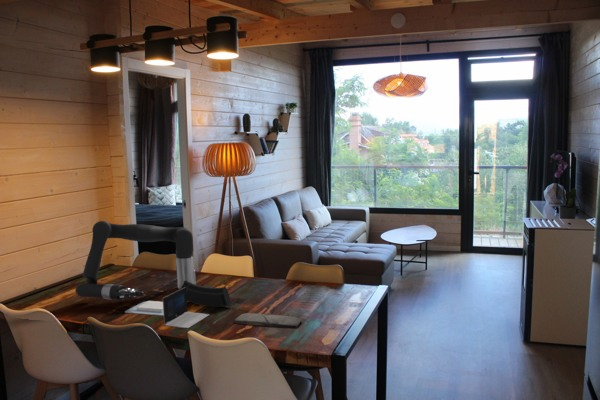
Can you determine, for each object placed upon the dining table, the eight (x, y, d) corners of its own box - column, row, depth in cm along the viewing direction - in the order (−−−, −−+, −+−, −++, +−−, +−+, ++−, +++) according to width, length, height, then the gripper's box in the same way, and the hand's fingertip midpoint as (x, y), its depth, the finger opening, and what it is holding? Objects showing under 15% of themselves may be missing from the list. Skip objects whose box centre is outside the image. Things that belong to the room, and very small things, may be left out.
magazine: (235, 289, 255) (187, 267, 267) (231, 291, 252) (183, 268, 264) (228, 321, 259) (181, 297, 271) (224, 323, 256) (177, 299, 268)
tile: (136, 307, 255) (161, 309, 251) (148, 300, 265) (172, 302, 261) (136, 310, 256) (162, 312, 251) (148, 303, 265) (173, 305, 261)
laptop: (187, 329, 231) (186, 300, 229) (164, 326, 235) (162, 298, 234) (209, 315, 247) (208, 288, 246) (186, 313, 252) (185, 286, 250)
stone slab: (297, 325, 225) (233, 316, 235) (297, 332, 226) (233, 323, 235) (304, 317, 235) (242, 309, 245) (304, 324, 236) (243, 316, 245)
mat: (124, 312, 254) (124, 311, 254) (144, 302, 269) (144, 301, 269) (163, 315, 248) (162, 314, 248) (180, 304, 263) (180, 304, 263)
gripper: (104, 288, 258) (134, 290, 253) (121, 281, 270) (150, 283, 265) (105, 303, 259) (135, 305, 254) (122, 295, 271) (151, 297, 266)
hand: (143, 294), depth 259 cm, fingers closed
